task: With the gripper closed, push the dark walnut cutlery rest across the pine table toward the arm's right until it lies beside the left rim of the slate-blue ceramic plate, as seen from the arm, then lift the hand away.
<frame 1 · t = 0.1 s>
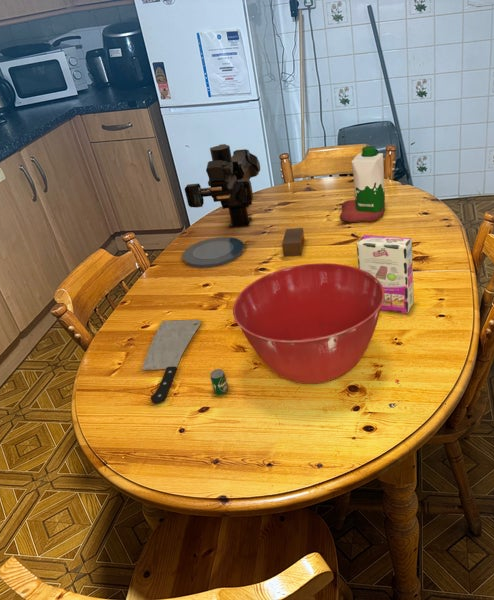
hand: (212, 204, 149), 17 cm above the table, tool horizontal, fingers open, 9 cm apart
candy bar box: (387, 306, 126), on the table
cleaver: (164, 359, 118), on the table
plate: (213, 253, 162), on the table
beer can: (221, 391, 107), on the table
milk carton: (370, 213, 173), on the table
mixing bowl: (316, 362, 111), on the table
cutlery rest: (294, 248, 158), on the table
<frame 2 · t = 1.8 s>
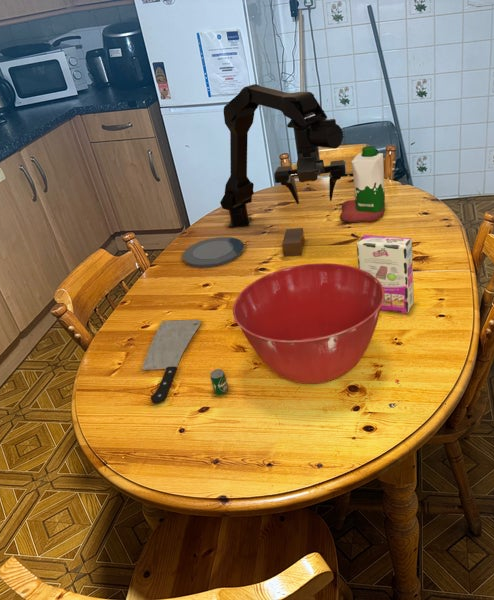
hand: (314, 202, 150), 14 cm above the table, tool pointing down, fingers open, 9 cm apart
nothing on the table moved.
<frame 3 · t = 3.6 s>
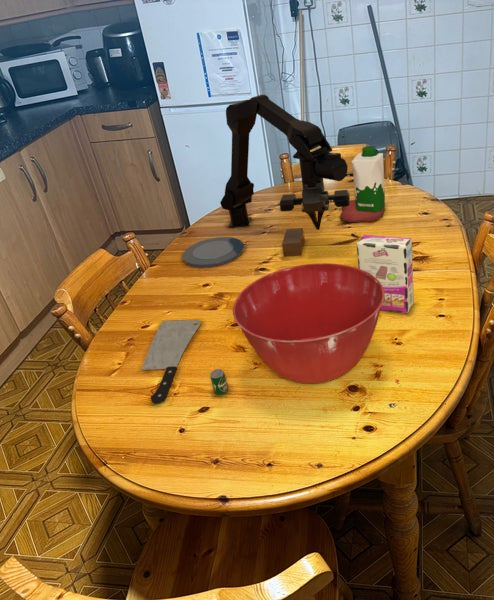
hand: (318, 229, 154), 5 cm above the table, tool pointing down, fingers closed
nothing on the table moved.
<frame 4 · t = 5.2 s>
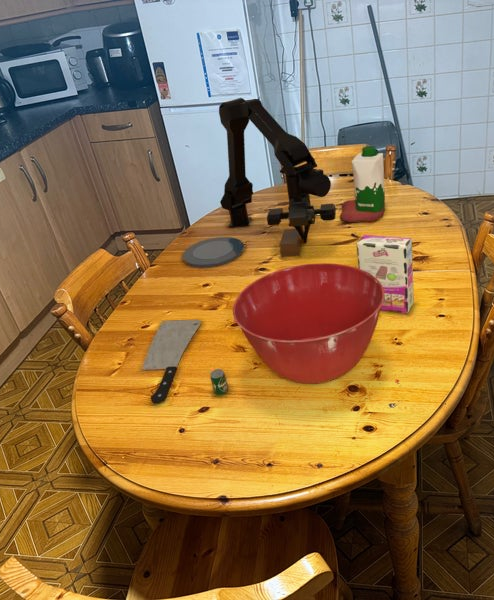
hand: (305, 242, 157), 2 cm above the table, tool pointing down, fingers closed
cutlery rest: (292, 248, 158), on the table, touching gripper
everything else where it was.
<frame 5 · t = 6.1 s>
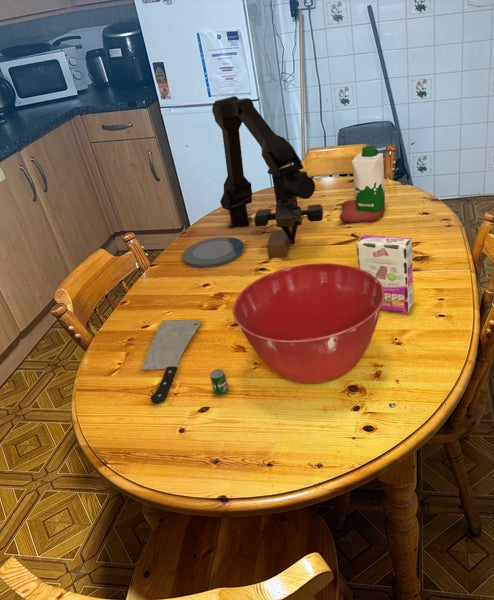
hand: (293, 243, 157), 2 cm above the table, tool pointing down, fingers closed
cutlery rest: (280, 249, 158), on the table, touching gripper
everything else where it was.
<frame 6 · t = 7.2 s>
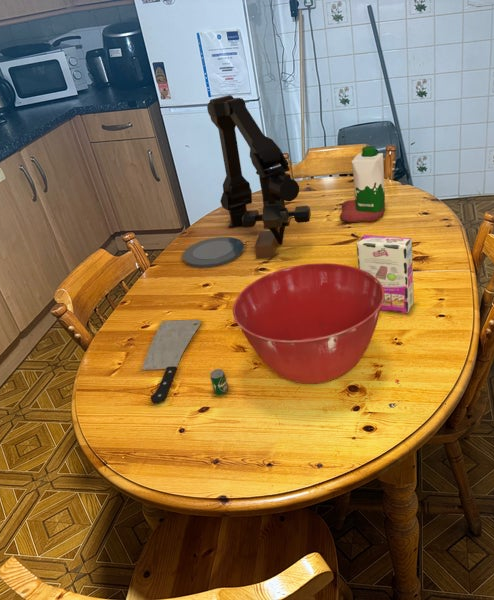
hand: (280, 244, 158), 2 cm above the table, tool pointing down, fingers closed
cutlery rest: (268, 250, 159), on the table, touching gripper
everything else where it was.
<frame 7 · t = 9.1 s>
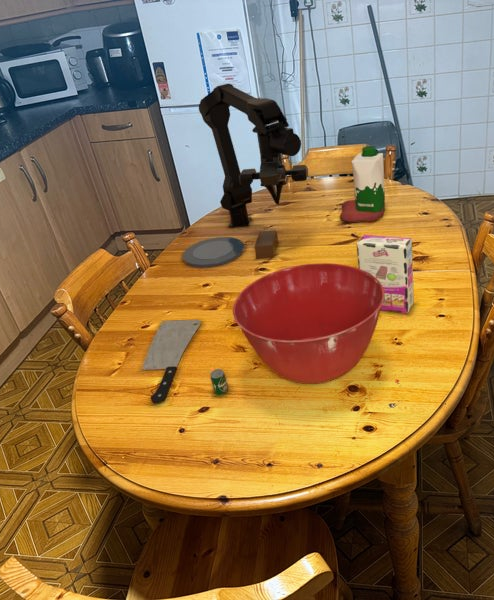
hand: (277, 203, 158), 12 cm above the table, tool pointing down, fingers closed
cutlery rest: (267, 250, 159), on the table
everything else where it was.
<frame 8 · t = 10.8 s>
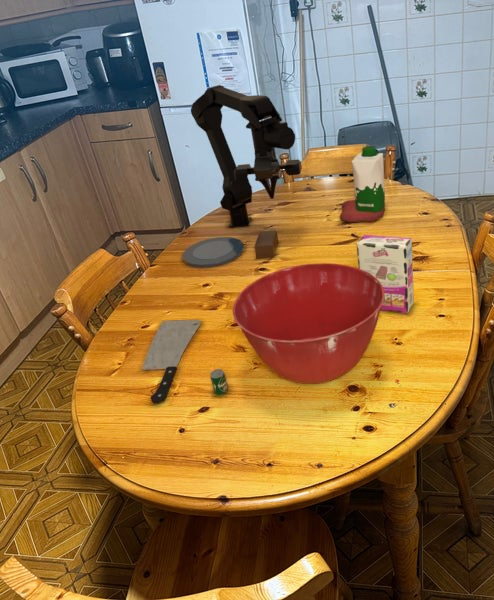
hand: (272, 198, 161), 12 cm above the table, tool pointing down, fingers closed
nothing on the table moved.
at the end: cutlery rest inside the target area (1.7 cm from its centre), on the table; cutlery rest moved 7.8 cm from its start; cutlery rest tilted 0° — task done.
